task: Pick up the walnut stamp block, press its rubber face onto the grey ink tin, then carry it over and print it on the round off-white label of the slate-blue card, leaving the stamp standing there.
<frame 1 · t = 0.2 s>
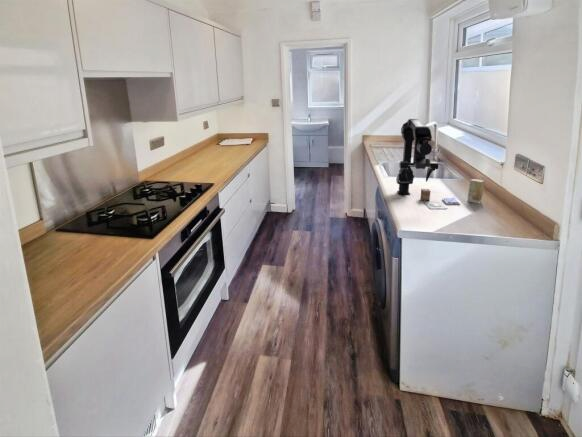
hand: (417, 181, 216), 14 cm above the counter, tool pointing down, fingers open, 9 cm apart
stamp: (424, 200, 233), on the counter
skincare box: (474, 202, 228), on the counter
ink tin: (450, 202, 228), on the counter
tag: (435, 205, 223), on the counter
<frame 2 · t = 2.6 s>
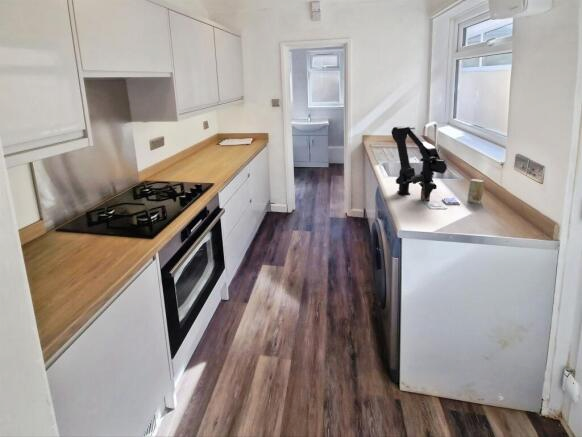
hand: (425, 197, 232), 2 cm above the counter, tool pointing down, fingers closed on stamp, 4 cm apart
stamp: (424, 200, 233), on the counter, touching gripper
everything else where it was.
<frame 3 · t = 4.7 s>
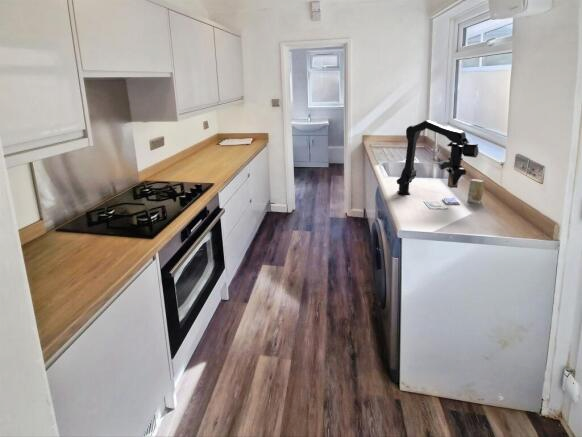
hand: (452, 184, 225), 10 cm above the counter, tool pointing down, fingers closed on stamp, 4 cm apart
stamp: (452, 186, 225), point 9 cm above the counter, touching gripper
everything else where it was.
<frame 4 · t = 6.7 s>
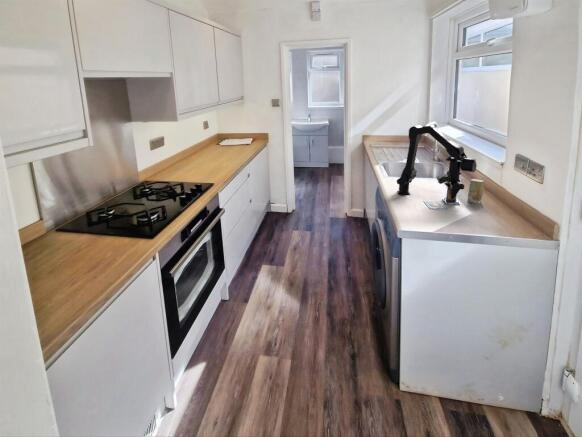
hand: (451, 197, 227), 3 cm above the counter, tool pointing down, fingers closed on stamp, 4 cm apart
stamp: (450, 200, 228), point 1 cm above the counter, touching gripper
everything else where it was.
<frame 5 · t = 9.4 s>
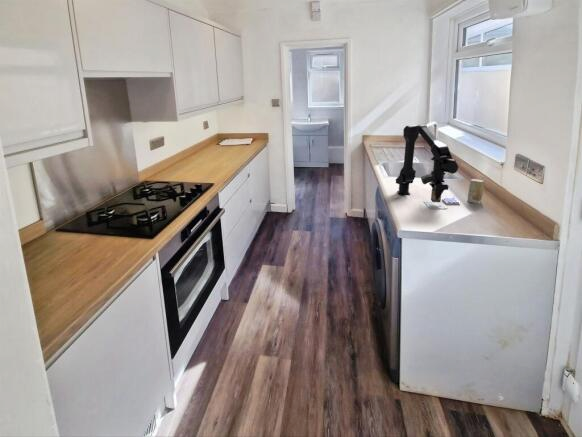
hand: (435, 198, 222), 4 cm above the counter, tool pointing down, fingers closed on stamp, 4 cm apart
stamp: (435, 200, 222), point 3 cm above the counter, touching gripper
everything else where it was.
when the fingers open (2 cm above the counter, at t = 11.1 s): stamp stays where it is, resting on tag.
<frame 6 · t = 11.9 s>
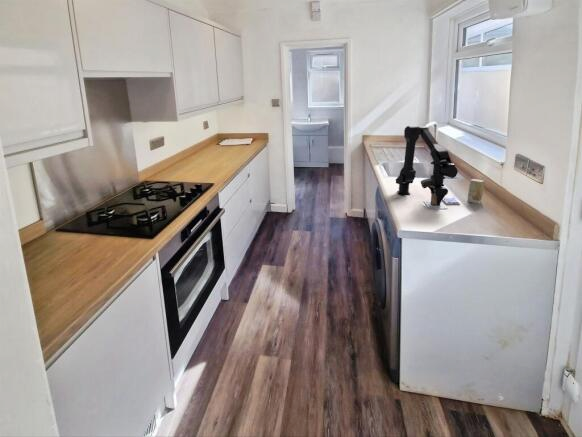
hand: (435, 202, 222), 2 cm above the counter, tool pointing down, fingers open, 9 cm apart
stamp: (435, 204, 223), resting on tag
everything else where it was.
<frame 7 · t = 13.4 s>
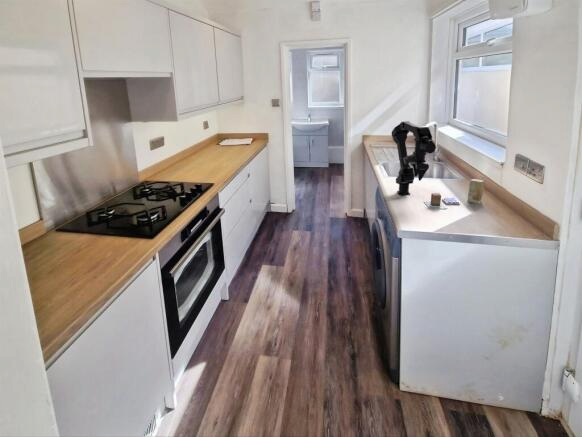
hand: (417, 178, 229), 12 cm above the counter, tool pointing down, fingers open, 9 cm apart
nothing on the counter moved.
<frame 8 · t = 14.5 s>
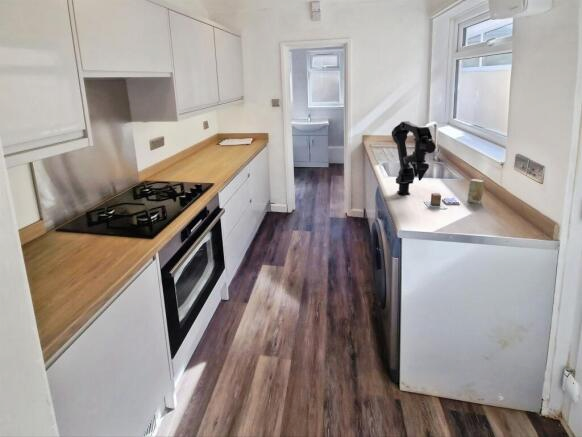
hand: (417, 178, 229), 13 cm above the counter, tool pointing down, fingers open, 9 cm apart
nothing on the counter moved.
at the end: stamp inside the target area on the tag (0.0 cm from its centre), point 0.3 cm above the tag's base; stamp tilted 0°; the gripper is holding nothing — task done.
